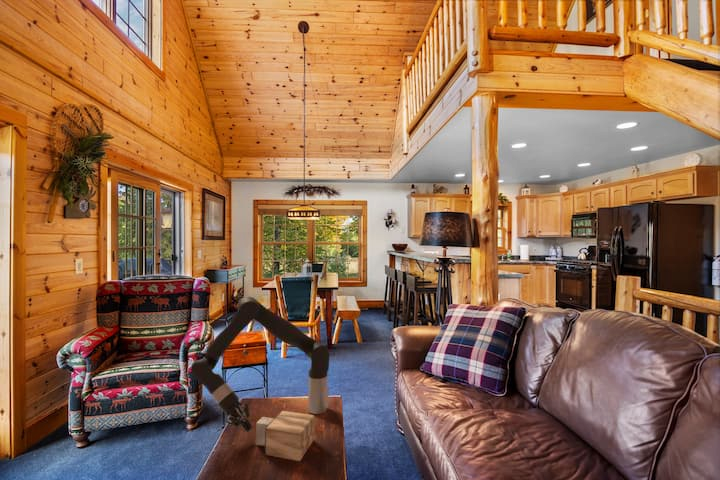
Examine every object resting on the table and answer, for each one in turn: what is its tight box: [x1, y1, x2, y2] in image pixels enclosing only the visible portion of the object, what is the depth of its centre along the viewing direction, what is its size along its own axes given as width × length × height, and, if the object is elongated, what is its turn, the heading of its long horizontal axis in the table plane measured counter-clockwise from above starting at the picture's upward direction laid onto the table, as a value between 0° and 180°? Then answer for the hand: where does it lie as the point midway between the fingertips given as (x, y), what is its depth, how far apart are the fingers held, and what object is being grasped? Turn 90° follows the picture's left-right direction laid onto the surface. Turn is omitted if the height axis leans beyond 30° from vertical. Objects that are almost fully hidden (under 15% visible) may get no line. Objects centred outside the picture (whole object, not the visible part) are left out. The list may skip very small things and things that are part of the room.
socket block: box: [264, 410, 315, 462], centre depth 137 cm, size 14×15×10 cm
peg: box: [255, 416, 275, 447], centre depth 139 cm, size 5×12×9 cm, turn 76°
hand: (250, 429), depth 142 cm, fingers closed
